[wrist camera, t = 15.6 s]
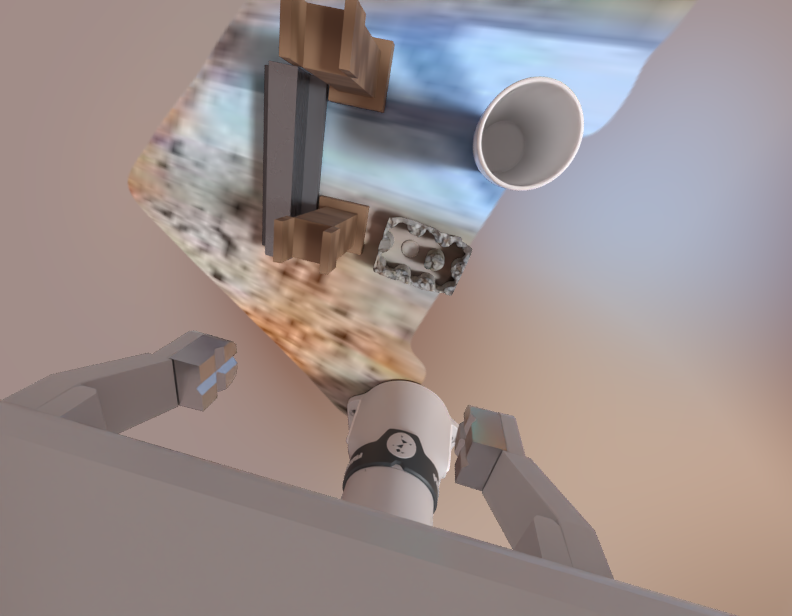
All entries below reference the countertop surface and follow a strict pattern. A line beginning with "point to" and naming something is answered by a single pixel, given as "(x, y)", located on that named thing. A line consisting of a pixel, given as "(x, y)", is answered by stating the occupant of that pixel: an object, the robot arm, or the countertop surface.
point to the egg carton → (432, 260)
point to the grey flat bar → (312, 148)
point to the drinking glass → (528, 134)
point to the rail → (285, 144)
